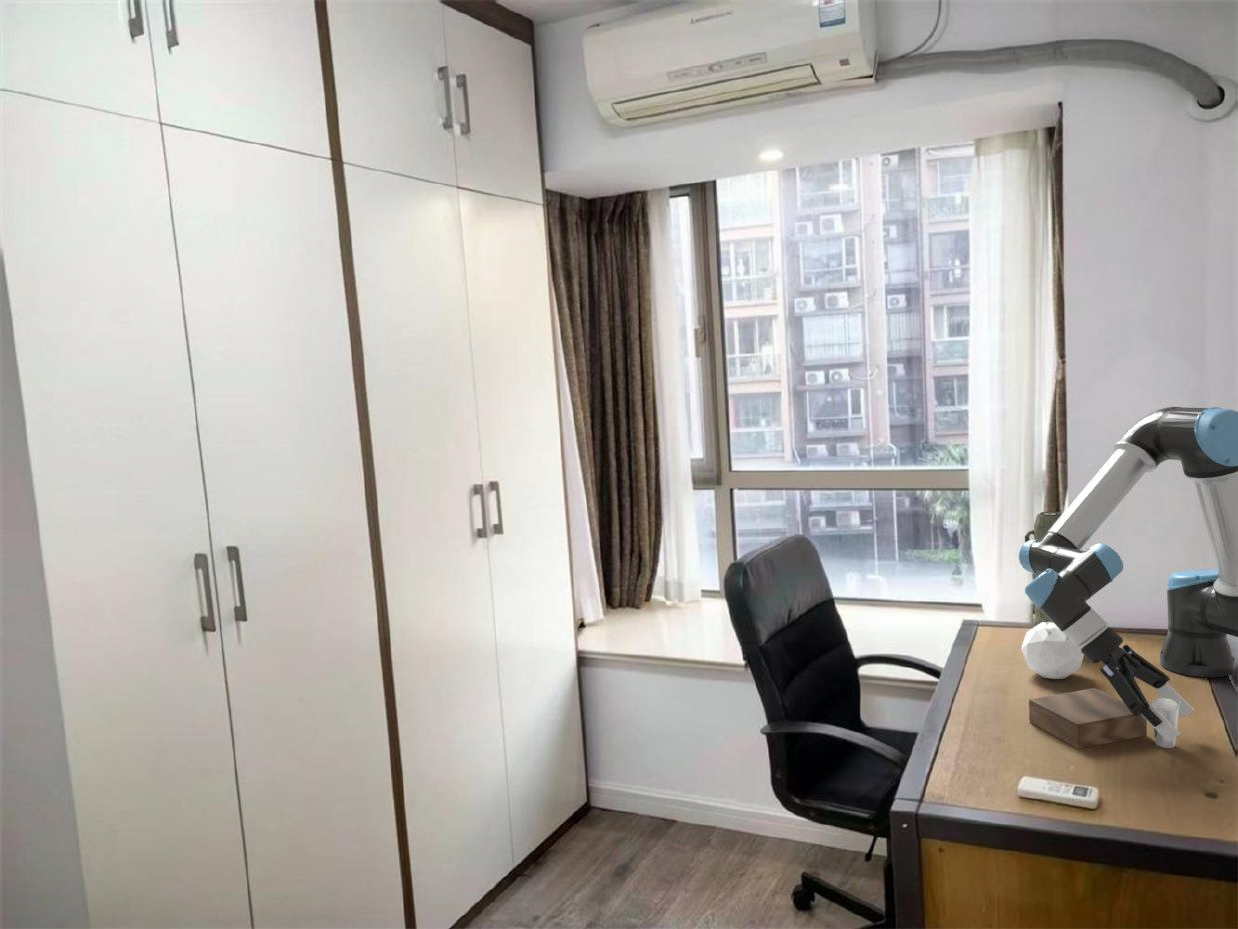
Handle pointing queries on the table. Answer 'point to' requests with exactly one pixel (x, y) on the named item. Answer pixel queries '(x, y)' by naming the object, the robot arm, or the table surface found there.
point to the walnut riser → (1086, 718)
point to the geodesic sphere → (1051, 652)
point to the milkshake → (1170, 713)
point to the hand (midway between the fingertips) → (1181, 725)
